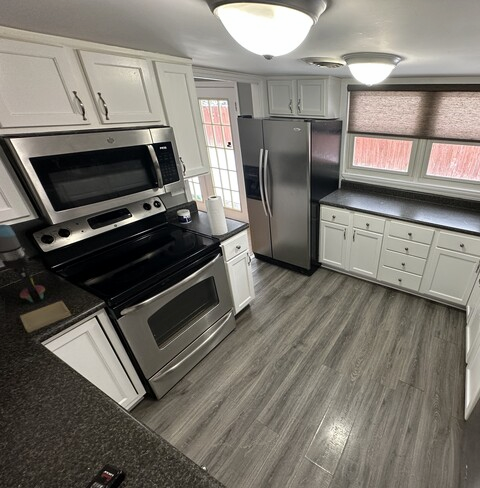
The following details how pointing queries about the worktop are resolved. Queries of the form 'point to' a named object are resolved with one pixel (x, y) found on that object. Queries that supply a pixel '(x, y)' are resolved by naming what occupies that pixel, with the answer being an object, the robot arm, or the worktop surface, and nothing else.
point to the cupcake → (25, 295)
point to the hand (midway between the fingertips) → (35, 297)
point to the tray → (45, 316)
